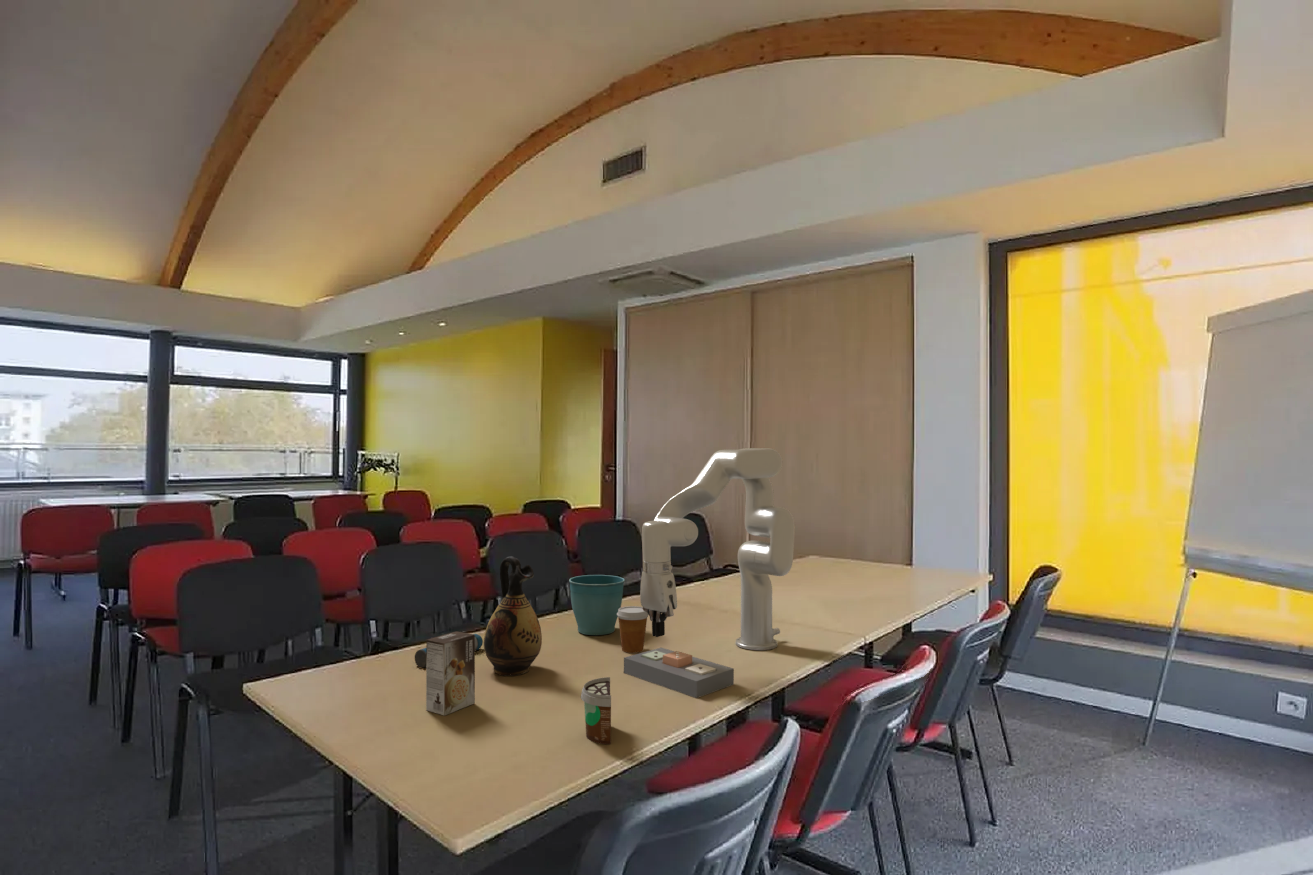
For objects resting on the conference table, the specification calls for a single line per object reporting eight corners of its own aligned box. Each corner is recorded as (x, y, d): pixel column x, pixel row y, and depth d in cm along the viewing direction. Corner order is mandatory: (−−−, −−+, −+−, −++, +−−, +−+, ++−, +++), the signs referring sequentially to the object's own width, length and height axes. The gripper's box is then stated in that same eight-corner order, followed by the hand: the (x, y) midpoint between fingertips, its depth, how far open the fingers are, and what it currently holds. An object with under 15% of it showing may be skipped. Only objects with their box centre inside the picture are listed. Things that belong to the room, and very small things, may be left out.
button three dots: (677, 663, 182) (677, 650, 182) (692, 668, 178) (692, 654, 178) (662, 668, 178) (662, 654, 178) (677, 673, 174) (677, 658, 174)
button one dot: (699, 677, 176) (699, 662, 176) (715, 682, 172) (715, 667, 172) (685, 681, 172) (685, 667, 172) (701, 687, 168) (701, 672, 169)
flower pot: (593, 621, 237) (594, 572, 238) (635, 630, 227) (635, 578, 227) (557, 632, 223) (557, 580, 223) (599, 642, 212) (599, 586, 213)
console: (661, 661, 192) (661, 647, 192) (733, 684, 174) (733, 668, 174) (623, 672, 182) (623, 657, 182) (696, 698, 164) (696, 681, 164)
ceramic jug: (553, 670, 185) (554, 558, 185) (505, 683, 173) (506, 564, 174) (516, 656, 196) (517, 551, 197) (468, 669, 185) (469, 557, 186)
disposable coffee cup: (611, 652, 201) (611, 611, 201) (624, 644, 210) (624, 604, 210) (640, 656, 197) (641, 614, 198) (653, 647, 206) (653, 607, 206)
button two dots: (655, 663, 188) (655, 650, 188) (670, 667, 184) (670, 654, 184) (641, 667, 184) (641, 654, 184) (655, 672, 180) (655, 658, 180)
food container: (581, 723, 148) (581, 676, 148) (609, 723, 148) (610, 676, 149) (579, 748, 136) (580, 697, 136) (610, 747, 136) (611, 696, 136)
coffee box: (456, 698, 163) (457, 630, 163) (475, 703, 159) (476, 634, 160) (424, 710, 155) (425, 639, 155) (444, 716, 152) (445, 643, 152)
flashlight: (413, 666, 188) (414, 648, 188) (473, 647, 206) (473, 631, 206) (426, 669, 185) (426, 651, 185) (485, 650, 204) (485, 633, 204)
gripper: (686, 568, 182) (688, 637, 182) (647, 562, 192) (649, 627, 192) (666, 573, 177) (668, 644, 177) (627, 566, 187) (629, 633, 187)
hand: (658, 635), depth 184 cm, fingers closed
